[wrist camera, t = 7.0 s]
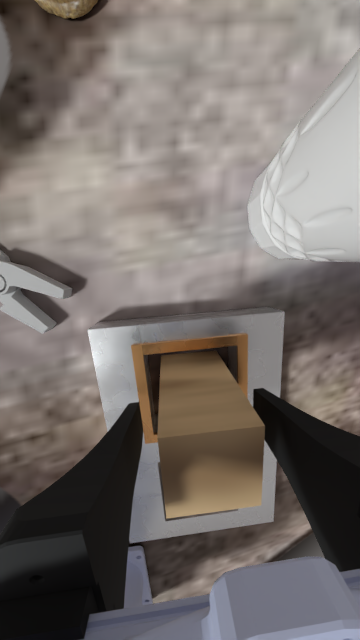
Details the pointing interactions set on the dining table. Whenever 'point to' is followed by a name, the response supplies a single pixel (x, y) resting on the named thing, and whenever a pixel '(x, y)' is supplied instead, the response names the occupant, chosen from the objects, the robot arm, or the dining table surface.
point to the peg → (207, 437)
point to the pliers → (5, 286)
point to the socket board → (135, 386)
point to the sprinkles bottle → (67, 7)
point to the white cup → (315, 181)
